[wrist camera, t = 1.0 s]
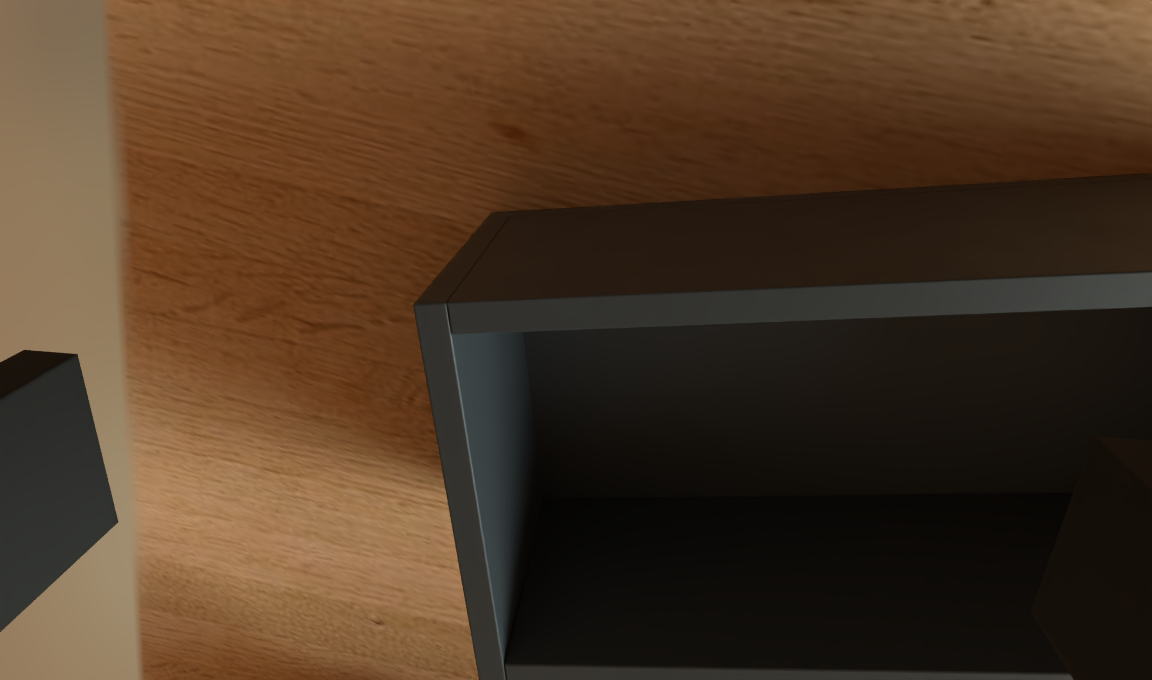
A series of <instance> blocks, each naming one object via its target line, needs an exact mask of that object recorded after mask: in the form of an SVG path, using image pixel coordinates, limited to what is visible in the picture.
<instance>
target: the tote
mask: <svg viewBox="0 0 1152 680" xmlns="http://www.w3.org/2000/svg"><path fill="white" fill-rule="evenodd" d="M413 307H414V313H415V319H416V324H417V330H418V336H419V341H420V347H421V353H422V358H423V364H424V370H425V375H426V381H427V387H428V392H429V398H430V404H431V409H432V415H433V421H434V426H435V432H436V438H437V443H438V449H439V455H440V460H441V466H442V472H443V477H444V483H445V489H446V494H447V500H448V506H449V511H450V517H451V523H452V528H453V534H454V540H455V545H456V551H457V557H458V563H459V568H460V574H461V580H462V585H463V591H464V597H465V602H466V608H467V614H468V619H469V625H470V631H471V636H472V642H473V648H474V653H475V659H476V665H477V670H478V676H479V680H1073V678H1072V676H1071V675H1070V673H1069V672H1068V670H1067V668H1066V667H1065V665H1064V664H1063V662H1062V660H1061V659H1060V657H1059V656H1058V654H1057V653H1056V651H1055V649H1054V648H1053V646H1052V645H1051V643H1050V641H1049V640H1048V638H1047V637H1046V635H1045V633H1044V632H1043V630H1042V629H1041V627H1040V626H1039V624H1038V622H1037V621H1036V619H1035V618H1034V616H1033V614H1032V613H1031V609H1032V607H1033V604H1034V601H1035V598H1036V595H1037V593H1038V590H1039V587H1040V584H1041V581H1042V579H1043V576H1044V573H1045V570H1046V567H1047V565H1048V562H1049V559H1050V556H1051V553H1052V550H1053V548H1054V545H1055V542H1056V539H1057V536H1058V534H1059V531H1060V528H1061V525H1062V522H1063V520H1064V517H1065V514H1066V511H1067V508H1068V506H1069V503H1070V500H1071V497H1072V494H1073V491H1074V489H1075V486H1076V483H1077V480H1078V477H1079V475H1080V472H1081V469H1082V466H1083V463H1084V461H1085V458H1086V455H1087V452H1088V449H1089V447H1090V444H1091V441H1092V438H1093V436H1097V437H1110V438H1122V439H1134V440H1147V441H1152V173H1148V174H1131V175H1115V176H1098V177H1081V178H1064V179H1047V180H1031V181H1014V182H997V183H980V184H964V185H947V186H930V187H913V188H896V189H880V190H863V191H846V192H829V193H812V194H796V195H779V196H762V197H745V198H729V199H712V200H695V201H678V202H661V203H645V204H628V205H611V206H594V207H577V208H561V209H544V210H527V211H510V212H493V213H491V214H490V215H489V216H488V217H487V219H486V220H485V221H484V222H483V223H482V224H481V226H480V227H479V228H478V229H477V230H476V231H475V233H474V234H473V235H472V236H471V237H470V238H469V240H468V241H467V242H466V243H465V244H464V245H463V247H462V248H461V249H460V250H459V251H458V252H457V254H456V255H455V256H454V257H453V258H452V260H451V261H450V262H449V263H448V264H447V265H446V267H445V268H444V269H443V270H442V271H441V272H440V274H439V275H438V276H437V277H436V278H435V279H434V281H433V282H432V283H431V284H430V285H429V286H428V288H427V289H426V290H425V291H424V292H423V294H422V295H421V296H420V297H419V298H418V299H417V301H416V302H415V303H414V305H413Z"/></svg>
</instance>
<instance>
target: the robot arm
mask: <svg viewBox="0 0 1152 680" xmlns="http://www.w3.org/2000/svg"><path fill="white" fill-rule="evenodd" d="M117 523H118V519H117V515H116V511H115V507H114V503H113V499H112V495H111V490H110V486H109V482H108V478H107V474H106V470H105V466H104V462H103V457H102V453H101V449H100V445H99V441H98V437H97V433H96V429H95V424H94V421H93V416H92V412H91V408H90V404H89V400H88V396H87V392H86V388H85V383H84V379H83V375H82V371H81V367H80V363H79V359H78V355H77V354H68V353H56V352H43V351H31V350H23V351H21V352H19V353H17V354H16V355H14V356H12V357H10V358H8V359H6V360H4V361H2V362H0V632H1V631H2V630H3V629H4V628H5V627H6V626H7V625H8V624H9V623H11V621H13V619H15V618H16V617H17V616H18V615H19V614H20V613H21V612H22V611H23V610H24V609H25V608H26V607H28V606H29V605H30V604H31V603H32V602H33V601H34V600H35V599H36V598H37V597H38V596H39V595H40V594H42V593H43V592H44V591H45V590H46V589H47V588H48V587H49V586H50V585H51V584H52V583H53V582H55V581H56V580H57V579H58V578H59V577H60V576H61V575H62V574H63V573H64V572H65V571H66V570H67V569H68V568H70V567H71V566H72V565H73V564H74V563H75V562H76V561H77V560H78V559H79V558H80V557H81V556H82V555H83V554H84V553H86V552H87V551H88V550H89V549H90V548H91V547H92V546H93V545H94V544H95V543H96V542H97V541H98V540H100V538H102V537H103V536H104V535H105V534H106V533H107V532H108V531H109V530H110V529H111V528H112V527H114V526H115V525H116V524H117ZM1031 613H1032V614H1033V616H1034V618H1035V619H1036V621H1037V622H1038V624H1039V626H1040V627H1041V629H1042V630H1043V632H1044V633H1045V635H1046V637H1047V638H1048V640H1049V641H1050V643H1051V645H1052V646H1053V648H1054V649H1055V651H1056V653H1057V654H1058V656H1059V657H1060V659H1061V660H1062V662H1063V664H1064V665H1065V667H1066V668H1067V670H1068V672H1069V673H1070V675H1071V676H1072V678H1073V680H1152V441H1147V440H1134V439H1122V438H1110V437H1097V436H1093V438H1092V441H1091V444H1090V447H1089V449H1088V452H1087V455H1086V458H1085V461H1084V463H1083V466H1082V469H1081V472H1080V475H1079V477H1078V480H1077V483H1076V486H1075V489H1074V491H1073V494H1072V497H1071V500H1070V503H1069V506H1068V508H1067V511H1066V514H1065V517H1064V520H1063V522H1062V525H1061V528H1060V531H1059V534H1058V536H1057V539H1056V542H1055V545H1054V548H1053V550H1052V553H1051V556H1050V559H1049V562H1048V565H1047V567H1046V570H1045V573H1044V576H1043V579H1042V581H1041V584H1040V587H1039V590H1038V593H1037V595H1036V598H1035V601H1034V604H1033V607H1032V609H1031Z"/></svg>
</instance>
